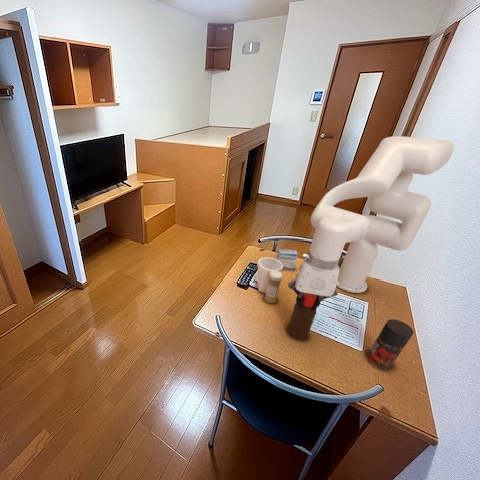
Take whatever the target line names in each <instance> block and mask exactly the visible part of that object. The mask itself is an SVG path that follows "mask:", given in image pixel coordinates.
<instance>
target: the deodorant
mask: <svg viewBox="0 0 480 480" xmlns="http://www.w3.org/2000/svg"><path fill="white" fill-rule="evenodd" d="M413 335H414V330H413V328H412V327H411V326H410V325H408V324H407V323H406V322H403V321H401V320H400V319H399V320H398V319H394V318H393V319H388V320H386V321H385V324H384V326H383V327H382V329H381V331H380V333H379V334H378V336H377V338H376V340H375V341H374V343H373V344H372V346H371V347H370V349H369V351H368V353H367V359H368V361H370V363H371V364H372V365H373V366H375V367H378V368H380V369H383V370H388V369H390V368H391V367H392V366H393V364H394V363H395V361H396V360H397V358H399V355H401V353H402V351H403V350H404V348H405V347H406V345H407V344H408V342H409V341H410V340H411V338H412V337H413Z"/></svg>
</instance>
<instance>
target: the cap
mask: <svg viewBox="0 0 480 480" xmlns="http://www.w3.org/2000/svg"><path fill="white" fill-rule="evenodd" d="M303 297H304V300H303V303H302V304H303V305H304V306H307V307H312V306H314V303H315V301H316V298H317V296H316V295H314V294H309V293H304V295H303Z"/></svg>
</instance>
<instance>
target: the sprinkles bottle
mask: <svg viewBox="0 0 480 480" xmlns="http://www.w3.org/2000/svg"><path fill="white" fill-rule="evenodd" d="M282 279H283V273H282V272H279V271H271V272H270V274H269V281H268V285H267V289H266V293H264V298H263V299H264V301H266V302H267V303H270V304H275V303H276V302H277V297H278V294H279V290H280V286H281V282H282Z"/></svg>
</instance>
